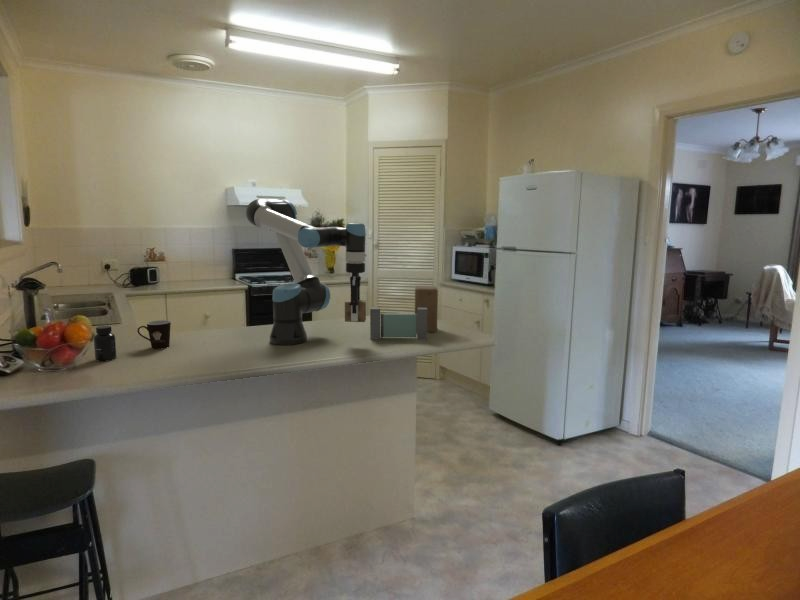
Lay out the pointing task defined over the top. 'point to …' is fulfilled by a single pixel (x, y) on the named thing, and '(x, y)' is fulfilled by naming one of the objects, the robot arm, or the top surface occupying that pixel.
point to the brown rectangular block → (360, 311)
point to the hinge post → (375, 323)
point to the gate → (398, 325)
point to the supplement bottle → (104, 344)
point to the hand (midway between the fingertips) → (355, 319)
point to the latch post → (422, 323)
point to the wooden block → (427, 305)
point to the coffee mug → (158, 333)
